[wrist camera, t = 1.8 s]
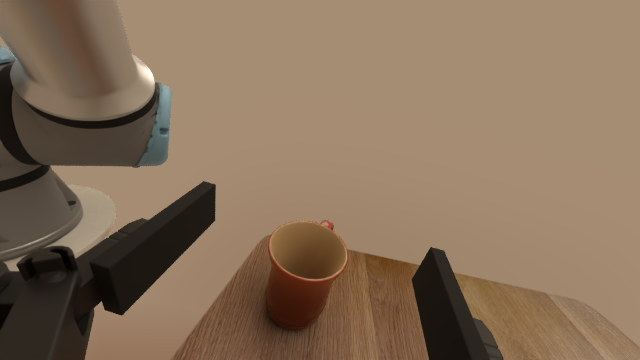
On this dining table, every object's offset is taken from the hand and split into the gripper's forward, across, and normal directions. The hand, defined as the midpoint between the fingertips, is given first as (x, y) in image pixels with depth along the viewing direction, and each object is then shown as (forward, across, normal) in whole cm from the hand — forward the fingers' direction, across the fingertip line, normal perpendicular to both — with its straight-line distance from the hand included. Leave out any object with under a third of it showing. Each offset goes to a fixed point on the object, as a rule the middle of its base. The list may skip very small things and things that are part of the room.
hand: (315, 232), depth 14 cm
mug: (+10, 0, -19) cm, 22 cm away
